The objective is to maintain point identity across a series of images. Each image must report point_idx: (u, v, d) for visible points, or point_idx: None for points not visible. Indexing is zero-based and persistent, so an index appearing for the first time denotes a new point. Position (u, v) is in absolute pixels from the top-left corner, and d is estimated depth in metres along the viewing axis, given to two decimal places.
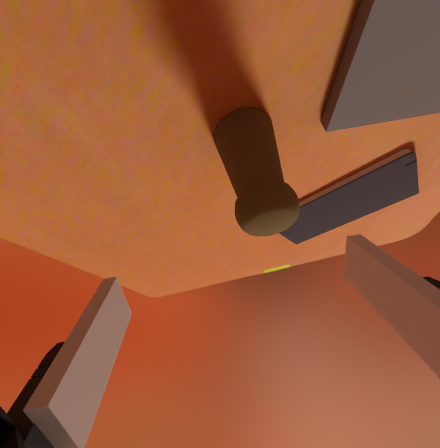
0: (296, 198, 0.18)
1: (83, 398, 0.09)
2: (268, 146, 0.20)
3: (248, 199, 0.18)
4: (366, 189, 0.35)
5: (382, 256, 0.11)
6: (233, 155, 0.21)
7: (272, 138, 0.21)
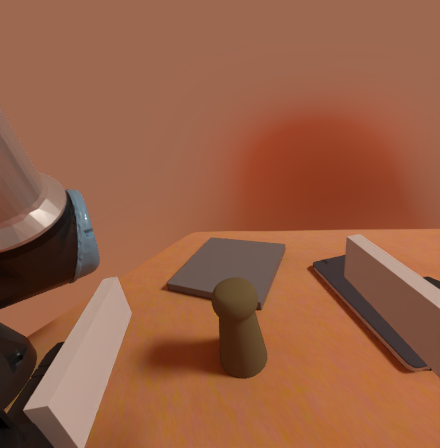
0: None
1: (83, 398, 0.09)
2: None
3: (212, 303, 0.26)
4: None
5: (382, 256, 0.11)
6: (220, 338, 0.28)
7: None
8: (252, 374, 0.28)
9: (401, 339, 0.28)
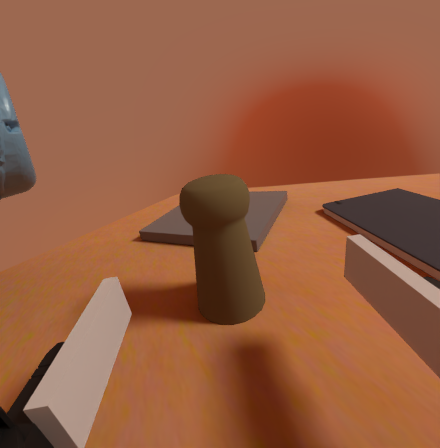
0: None
1: (83, 398, 0.09)
2: None
3: None
4: (376, 213, 0.30)
5: (382, 256, 0.11)
6: (195, 266, 0.19)
7: None
8: (243, 318, 0.19)
9: None
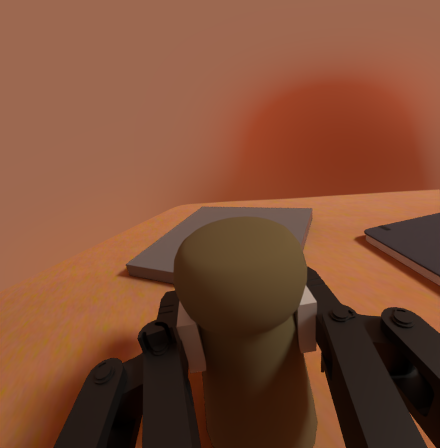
0: None
1: None
2: None
3: None
4: None
5: None
6: (203, 374, 0.11)
7: None
8: None
9: None
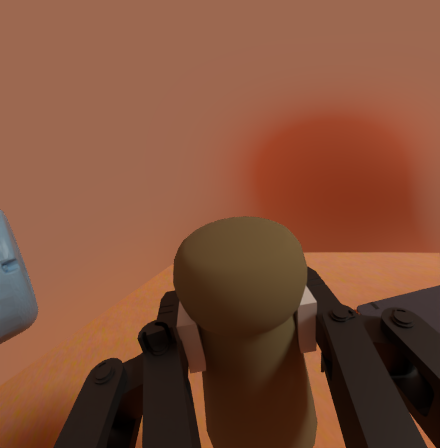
0: None
1: None
2: None
3: None
4: None
5: None
6: (202, 374, 0.11)
7: None
8: None
9: None
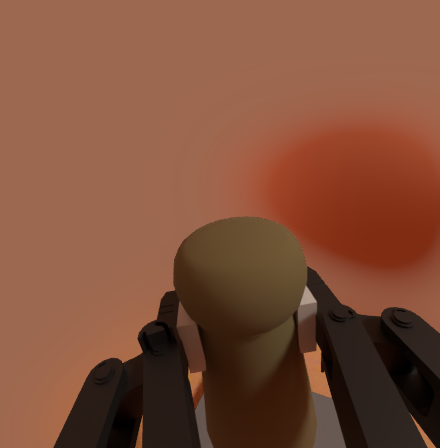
0: None
1: None
2: None
3: (174, 282, 0.09)
4: None
5: None
6: (202, 374, 0.11)
7: None
8: None
9: None
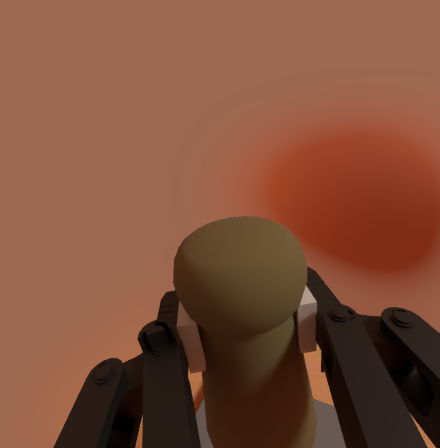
0: None
1: None
2: None
3: None
4: None
5: None
6: (202, 374, 0.11)
7: None
8: None
9: None
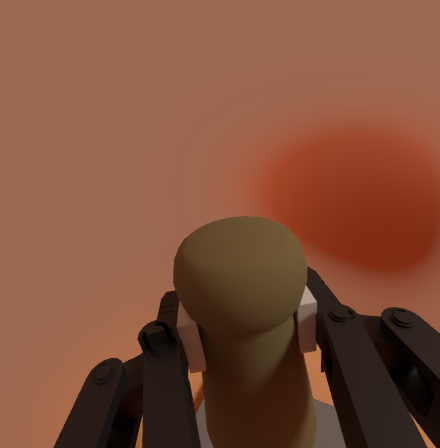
0: None
1: None
2: None
3: None
4: None
5: None
6: (202, 374, 0.11)
7: None
8: None
9: None
